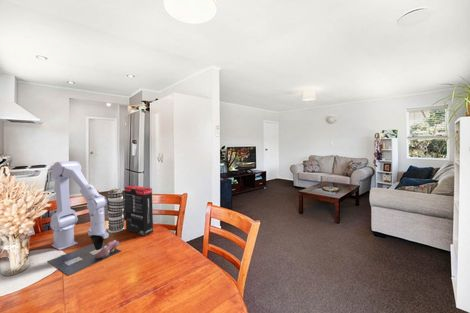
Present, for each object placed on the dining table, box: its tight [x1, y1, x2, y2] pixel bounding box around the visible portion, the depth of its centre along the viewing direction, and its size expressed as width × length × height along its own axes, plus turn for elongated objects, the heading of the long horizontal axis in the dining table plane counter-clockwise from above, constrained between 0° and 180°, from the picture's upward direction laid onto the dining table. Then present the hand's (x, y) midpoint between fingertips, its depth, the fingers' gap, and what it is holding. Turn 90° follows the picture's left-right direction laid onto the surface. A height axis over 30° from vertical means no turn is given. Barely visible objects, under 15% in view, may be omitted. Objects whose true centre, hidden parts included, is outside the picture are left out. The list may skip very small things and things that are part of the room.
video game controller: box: [96, 239, 120, 258], centre depth 99 cm, size 10×5×7 cm, turn 172°
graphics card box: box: [124, 184, 154, 237], centre depth 124 cm, size 17×7×27 cm, turn 63°
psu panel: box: [47, 242, 122, 276], centre depth 98 cm, size 20×22×1 cm
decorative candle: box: [106, 188, 125, 234], centre depth 127 cm, size 9×9×25 cm
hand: (98, 249), depth 101 cm, fingers closed
